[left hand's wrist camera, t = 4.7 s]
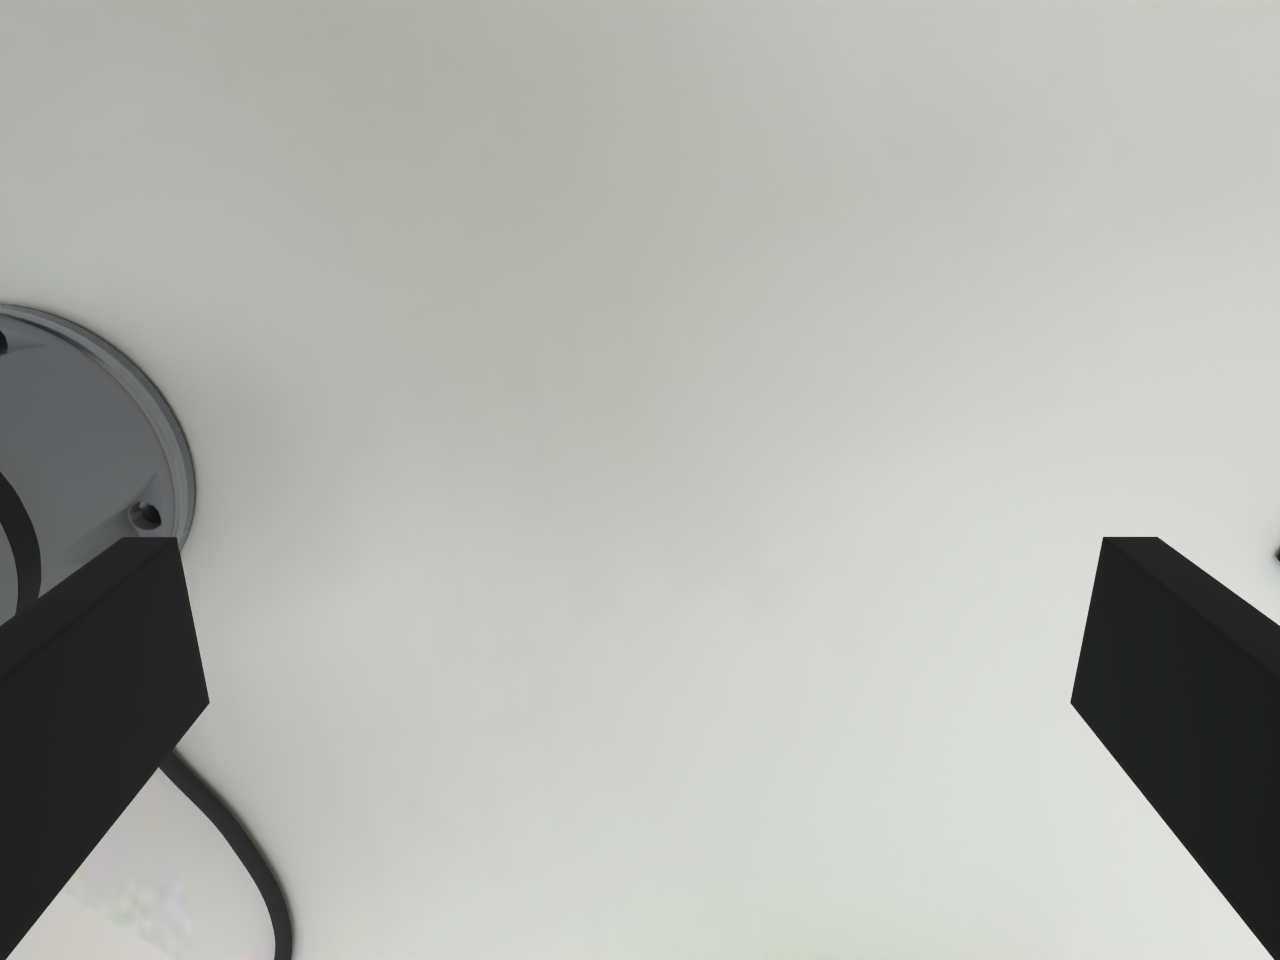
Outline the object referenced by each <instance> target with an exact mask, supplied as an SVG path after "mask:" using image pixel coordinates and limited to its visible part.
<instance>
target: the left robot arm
mask: <svg viewBox="0 0 1280 960" xmlns="http://www.w3.org/2000/svg"><path fill="white" fill-rule="evenodd" d="M209 703H210V702H209V697H208V692H207V687H206V682H205V677H204V672H203V667H202V662H201V657H200V652H199V647H198V642H197V637H196V632H195V627H194V621H193V616H192V611H191V606H190V601H189V596H188V591H187V586H186V581H185V576H184V571H183V566H182V561H181V556H180V551H179V546H178V541H177V537H122V538H121V539H119V540H118V541H116V542H115V543H114V544H112V545H111V546H110V547H108V548H107V549H105V550H104V551H103V552H101V553H100V554H99V555H97V556H96V557H94V558H93V559H92V560H90V561H89V562H88V563H86V564H85V565H83V566H82V567H81V568H79V569H78V570H77V571H75V572H74V573H72V574H71V575H70V576H68V577H67V578H66V579H64V580H63V581H61V582H60V583H59V584H57V585H56V586H55V587H53V588H52V589H50V590H49V591H48V592H46V593H45V594H44V595H42V596H41V597H39V598H38V599H37V600H35V601H34V602H33V603H31V604H30V605H28V606H27V607H26V608H24V609H23V610H22V611H20V612H19V613H17V614H16V615H15V616H13V617H12V618H11V619H9V620H8V621H6V622H5V623H4V624H2V625H1V626H0V960H6V959H7V957H8V956H9V955H10V953H11V952H12V951H13V950H14V948H15V947H16V946H17V945H18V943H19V942H20V941H21V940H22V938H23V937H24V936H25V935H26V933H27V932H28V931H29V929H30V928H31V927H32V926H33V925H34V923H35V922H36V921H37V919H38V918H39V917H40V916H41V914H42V913H43V912H44V911H45V909H46V908H47V907H48V906H49V904H50V903H51V902H52V901H53V899H54V898H55V897H56V896H57V894H58V893H59V892H60V891H61V889H62V888H63V887H64V885H65V884H66V883H67V882H68V880H69V879H70V878H71V877H72V875H73V874H74V873H75V872H76V870H77V869H78V868H79V867H80V865H81V864H82V863H83V862H84V860H85V859H86V858H87V857H88V855H89V854H90V853H91V852H92V850H93V849H94V848H95V846H96V845H97V844H98V843H99V841H100V840H101V839H102V838H103V836H104V835H105V834H106V833H107V831H108V830H109V829H110V828H111V826H112V825H113V824H114V823H115V821H116V820H117V819H118V818H119V816H120V815H121V814H122V812H123V811H124V810H125V809H126V807H127V806H128V805H129V804H130V802H131V801H132V800H133V799H134V797H135V796H136V795H137V794H138V792H139V791H140V790H141V789H142V787H143V786H144V785H145V784H146V782H147V781H148V780H149V778H150V777H151V776H152V775H153V773H154V772H155V771H156V770H157V768H158V767H159V766H160V765H161V763H162V762H163V761H164V760H165V758H166V757H167V756H168V755H169V753H170V752H171V751H172V750H173V748H174V747H175V746H176V744H177V743H178V742H179V741H180V739H181V738H182V737H183V736H184V734H185V733H186V732H187V731H188V729H189V728H190V727H191V726H192V724H193V723H194V722H195V721H196V719H197V718H198V717H199V716H200V714H201V713H202V712H203V711H204V709H205V708H206V707H207V705H208V704H209ZM1070 703H1071V704H1072V705H1073V707H1074V708H1075V709H1076V711H1077V712H1078V713H1079V714H1080V716H1081V717H1082V718H1083V719H1084V721H1085V722H1086V723H1087V724H1088V726H1089V727H1090V728H1091V729H1092V731H1093V732H1094V733H1095V734H1096V736H1097V737H1098V738H1099V739H1100V741H1101V742H1102V743H1103V745H1104V746H1105V747H1106V748H1107V750H1108V751H1109V752H1110V753H1111V755H1112V756H1113V757H1114V758H1115V760H1116V761H1117V762H1118V763H1119V765H1120V766H1121V767H1122V768H1123V770H1124V771H1125V772H1126V773H1127V775H1128V776H1129V777H1130V778H1131V780H1132V781H1133V782H1134V784H1135V785H1136V786H1137V787H1138V789H1139V790H1140V791H1141V792H1142V794H1143V795H1144V796H1145V797H1146V799H1147V800H1148V801H1149V802H1150V804H1151V805H1152V806H1153V807H1154V809H1155V810H1156V811H1157V812H1158V814H1159V815H1160V816H1161V818H1162V819H1163V820H1164V821H1165V823H1166V824H1167V825H1168V826H1169V828H1170V829H1171V830H1172V831H1173V833H1174V834H1175V835H1176V836H1177V838H1178V839H1179V840H1180V841H1181V843H1182V844H1183V845H1184V846H1185V848H1186V849H1187V850H1188V852H1189V853H1190V854H1191V855H1192V857H1193V858H1194V859H1195V860H1196V862H1197V863H1198V864H1199V865H1200V867H1201V868H1202V869H1203V870H1204V872H1205V873H1206V874H1207V875H1208V877H1209V878H1210V879H1211V880H1212V882H1213V883H1214V884H1215V885H1216V887H1217V888H1218V889H1219V891H1220V892H1221V893H1222V894H1223V896H1224V897H1225V898H1226V899H1227V901H1228V902H1229V903H1230V904H1231V906H1232V907H1233V908H1234V909H1235V911H1236V912H1237V913H1238V914H1239V916H1240V917H1241V918H1242V919H1243V921H1244V922H1245V923H1246V925H1247V926H1248V927H1249V928H1250V930H1251V931H1252V932H1253V933H1254V935H1255V936H1256V937H1257V938H1258V940H1259V941H1260V942H1261V943H1262V945H1263V946H1264V947H1265V948H1266V950H1267V951H1268V952H1269V953H1270V955H1271V956H1272V957H1273V959H1274V960H1280V626H1279V625H1278V624H1276V623H1275V622H1274V621H1272V620H1271V619H1269V618H1268V617H1267V616H1265V615H1264V614H1263V613H1261V612H1260V611H1258V610H1257V609H1256V608H1254V607H1253V606H1252V605H1250V604H1249V603H1247V602H1246V601H1245V600H1243V599H1242V598H1241V597H1239V596H1238V595H1236V594H1235V593H1234V592H1232V591H1231V590H1230V589H1228V588H1227V587H1225V586H1224V585H1223V584H1221V583H1220V582H1219V581H1217V580H1216V579H1214V578H1213V577H1212V576H1210V575H1209V574H1208V573H1206V572H1205V571H1203V570H1202V569H1201V568H1199V567H1198V566H1197V565H1195V564H1194V563H1192V562H1191V561H1190V560H1188V559H1187V558H1186V557H1184V556H1183V555H1181V554H1180V553H1179V552H1177V551H1176V550H1175V549H1173V548H1172V547H1170V546H1169V545H1168V544H1166V543H1165V542H1164V541H1162V540H1161V539H1159V538H1158V537H1103V541H1102V546H1101V551H1100V556H1099V561H1098V566H1097V571H1096V576H1095V581H1094V586H1093V591H1092V596H1091V601H1090V606H1089V611H1088V616H1087V621H1086V626H1085V632H1084V637H1083V642H1082V647H1081V652H1080V657H1079V662H1078V667H1077V672H1076V677H1075V682H1074V687H1073V692H1072V697H1071V702H1070Z"/></svg>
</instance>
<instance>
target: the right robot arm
mask: <svg viewBox="0 0 1280 960" xmlns="http://www.w3.org/2000/svg"><path fill="white" fill-rule="evenodd" d="M194 501H195V486H194V476H193V469H192V464H191V459H190V455H189V452H188V449H187V445H186V442H185V440H184V437H183V435H182V432H181V430H180V428H179V426H178V424H177V422H176V420H175V418H174V416H173V414H172V412H171V411H170V409H169V407H168V406H167V404H166V403H165V401H164V400H163V398H162V397H161V395H160V394H159V393H158V391H157V390H156V389H155V388H154V386H153V385H152V384H151V383H150V381H149V380H148V379H147V378H146V377H145V376H144V375H143V374H142V373H141V372H140V370H139V369H137V368H136V367H135V366H134V365H133V364H132V363H131V362H130V361H129V360H128V359H127V358H126V357H124V356H123V355H122V354H121V353H119V352H118V351H117V350H116V349H114V348H113V347H112V346H110V345H109V344H107V343H106V342H104V341H103V340H102V339H100V338H99V337H97V336H95V335H94V334H92V333H90V332H88V331H87V330H85V329H83V328H81V327H79V326H77V325H75V324H73V323H70V322H68V321H66V320H64V319H61V318H58V317H56V316H53V315H50V314H47V313H44V312H40V311H36V310H33V309H29V308H23V307H17V306H10V305H0V626H1V625H2V624H4V623H5V622H6V621H8V620H9V619H11V618H12V617H13V616H15V615H16V614H17V613H19V612H20V611H22V610H23V609H24V608H26V607H27V606H28V605H30V604H31V603H33V602H34V601H35V600H37V599H38V598H39V597H41V596H42V595H44V594H45V593H46V592H48V591H49V590H50V589H52V588H53V587H55V586H56V585H57V584H59V583H60V582H61V581H63V580H64V579H66V578H67V577H68V576H70V575H71V574H72V573H74V572H75V571H77V570H78V569H79V568H81V567H82V566H83V565H85V564H86V563H88V562H89V561H90V560H92V559H93V558H94V557H96V556H97V555H99V554H100V553H101V552H103V551H104V550H105V549H107V548H108V547H110V546H111V545H112V544H114V543H115V542H116V541H118V540H119V539H121V538H122V537H177V541H178V546H179V551H180V550H181V548H182V546H183V544H184V542H185V540H186V537H187V535H188V532H189V529H190V525H191V521H192V517H193V510H194ZM159 768H160V769H161V770H162V771H163V772H164V773H165V774H166V776H167V777H168V778H169V779H170V780H171V781H172V782H173V783H174V784H175V785H176V786H177V787H178V788H179V789H180V790H181V791H182V792H183V793H184V794H185V795H186V796H187V797H188V798H189V799H190V800H191V801H192V802H193V803H194V804H195V805H196V806H197V807H198V808H199V809H200V810H201V811H202V812H203V813H204V814H205V815H206V816H207V817H208V818H209V819H210V820H211V821H212V823H213V824H214V825H215V826H216V827H217V828H218V830H219V831H220V832H221V833H222V835H223V836H224V837H225V839H226V840H227V841H228V843H229V844H230V846H231V847H232V849H233V850H234V851H235V853H236V854H237V856H238V857H239V859H240V860H241V862H242V863H243V864H244V866H245V867H246V869H247V870H248V872H249V874H250V875H251V877H252V878H253V880H254V882H255V883H256V885H257V887H258V889H259V890H260V892H261V894H262V896H263V899H264V901H265V903H266V906H267V908H268V911H269V914H270V917H271V921H272V925H273V929H274V935H275V959H274V960H291V953H292V936H291V928H290V922H289V917H288V913H287V909H286V905H285V902H284V899H283V897H282V894H281V892H280V889H279V887H278V885H277V883H276V881H275V879H274V877H273V875H272V873H271V872H270V870H269V868H268V867H267V865H266V863H265V862H264V860H263V859H262V857H261V855H260V854H259V852H258V851H257V849H256V848H255V846H254V845H253V844H252V842H251V841H250V839H249V838H248V836H247V835H246V833H245V832H244V830H243V829H242V828H241V826H240V825H239V824H238V822H237V821H236V820H235V818H234V817H233V816H232V815H231V813H230V812H229V811H228V810H227V809H226V808H225V807H224V805H223V804H222V803H221V802H220V801H219V800H218V799H217V798H216V797H215V796H214V795H213V794H212V793H211V792H210V791H209V790H208V789H207V788H206V787H205V786H204V785H203V784H202V783H201V782H200V781H199V780H198V779H197V778H196V777H195V776H194V775H193V774H192V773H191V772H190V771H189V770H188V769H187V768H186V767H185V766H184V764H183V763H182V762H181V761H180V760H179V759H178V758H177V757H176V756H175V754H174V753H173V752H172V751H171V752H170V753H169V755H168V756H167V757H166V758H165V760H164V761H163V762H162V763H161V765H160V766H159Z"/></svg>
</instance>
